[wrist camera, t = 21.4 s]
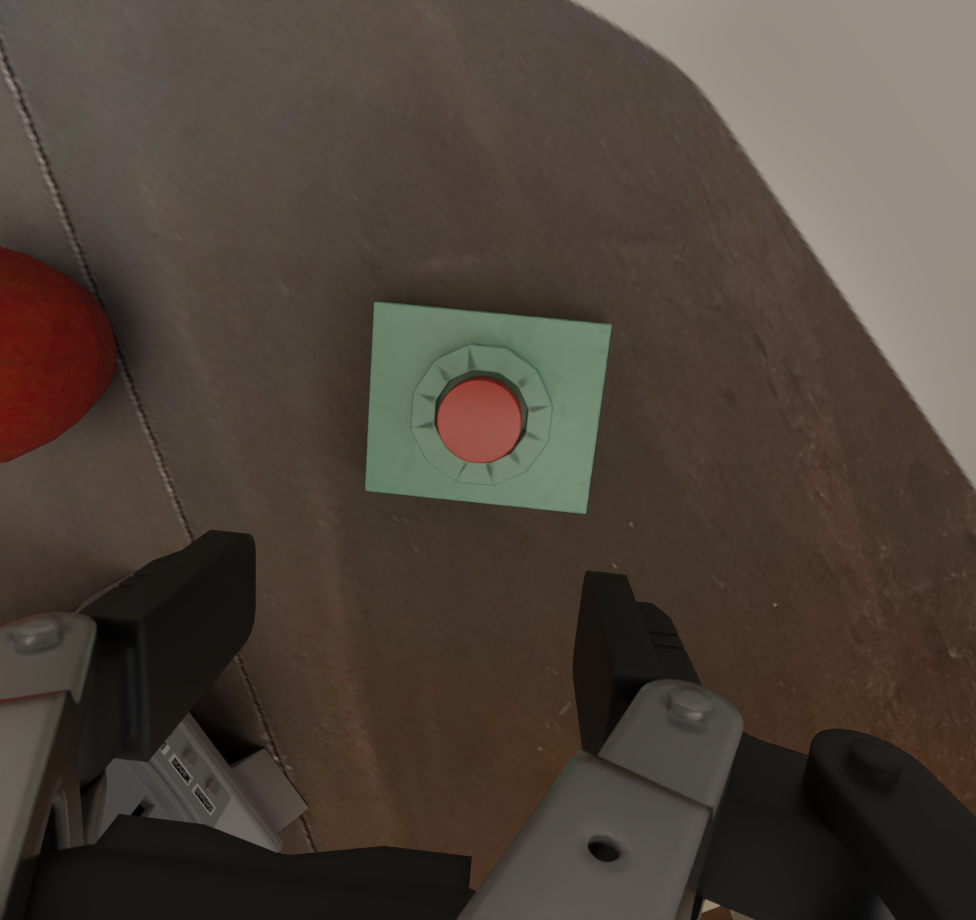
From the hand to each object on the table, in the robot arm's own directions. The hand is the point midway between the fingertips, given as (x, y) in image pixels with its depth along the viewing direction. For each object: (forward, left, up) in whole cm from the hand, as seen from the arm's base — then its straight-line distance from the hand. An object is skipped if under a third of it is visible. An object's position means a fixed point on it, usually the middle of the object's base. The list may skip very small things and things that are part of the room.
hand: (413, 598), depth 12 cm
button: (0, 0, -20) cm, 20 cm away
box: (0, 0, -24) cm, 24 cm away
